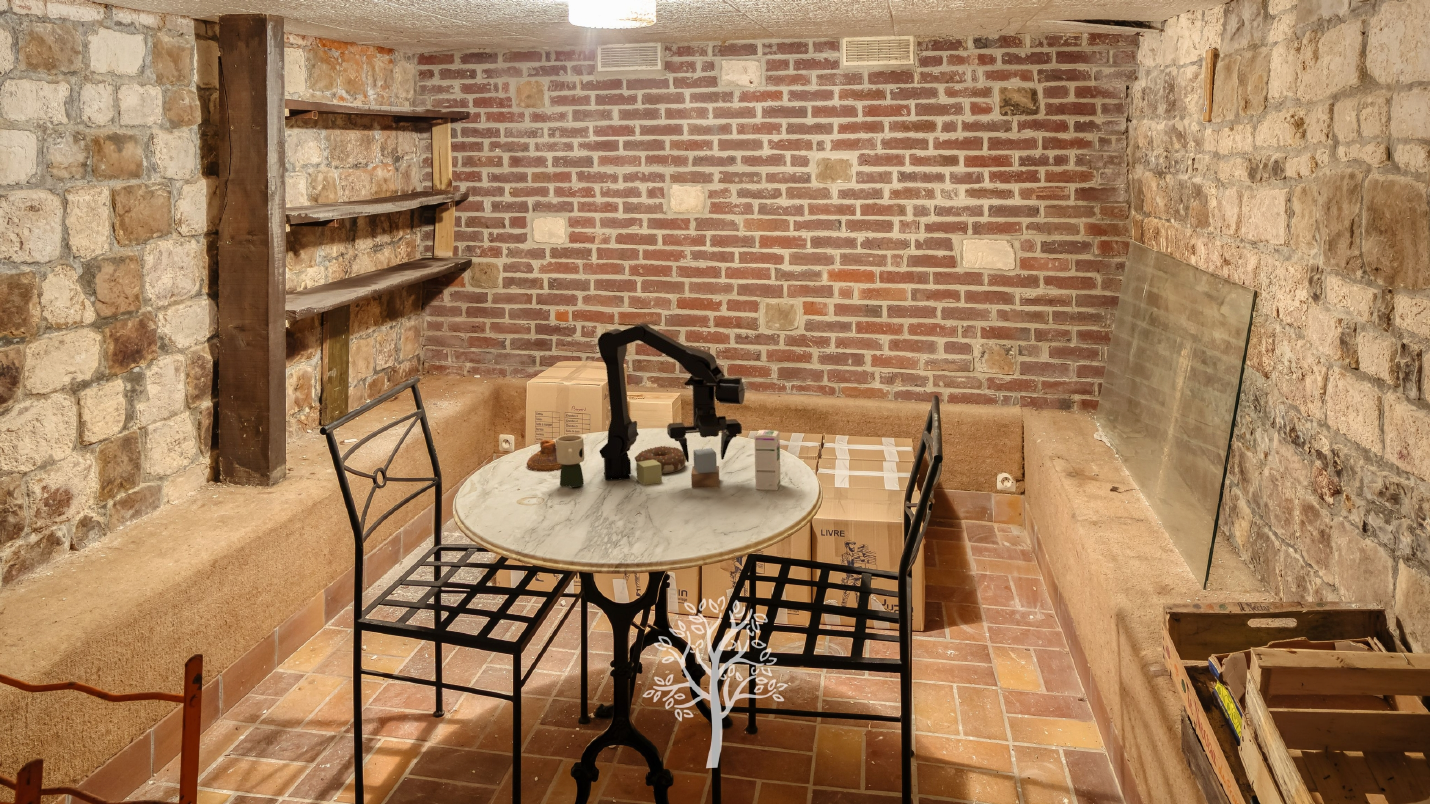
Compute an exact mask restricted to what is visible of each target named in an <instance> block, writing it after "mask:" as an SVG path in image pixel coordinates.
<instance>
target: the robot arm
mask: <svg viewBox="0 0 1430 804" xmlns="http://www.w3.org/2000/svg"><path fill="white" fill-rule="evenodd" d="M637 341H639V342H641V343H643V344H645V345H647V346H649V347H650V348H652V349H654V350H655V351H658V352H659V353H661V354H664V355H665V356H667V357H669V358H670V359H672V360H674V361H676V362H678V363H679V364H680V365H681V366H682V369H684V370H685V371H687V373H688V374H690V376H689V378H688V379H687V381H685V382H684V384H683V385H684V386H691V387H692V425H684V423H683V422H672V423H670V422H669V423H668V425H667V429H666V432H667V435H668V436H669V439H672V440H674V441H675V442H678V443H679V445H680V447H681V450H682V451H683V453H684V455H685V458H686V463H689V462H690V458H689V457H690V455H689V450H688V438H687V437H686V435H687V434H694V433H695V434H696V433H697V434H698V433H699V435H700V437H701V438H703V439H704V438H707V437H714V438H717V437H719V436H720V434H721V436H720V437H721V438H720V459H721V460H723V461H724V459H725V455H726V453H727V450H728V447H729V445H730V443H731V441H732V440H733V438H736V437H737V436H738V435H741V434H743V433H742V432H743V427H742V423H740V422H739V421H738V420H737V419H736V418H730V419H729V418H728V419H727V417H726V416H725V415H721V416H718V415H717V413H716V402H718V403H719V404H727V405H729V404H730V405H742V404H744V402H745V396H746V395H745V394H746V389H745V387H744V383H743V378H742V377H739V376H737V377H726V375H725V374H724V372H723V371H722V370H721V368H720V367H719V365H718V364H717V359H716V357H715V355H713V353H710V352H707V351H704V350H703V349H702V350H701V349H698V348H692V347H689V346H687V345H684V344H682V343H681V342H679V341H677V340H675V339H673V338H671V337H670V336H667V335H666V334H664V333H662V332H661V331H658V330H657V329H654V328H653V327H651V326H650V325H648V323H644V322H643V323H642V322H641V323H639V324H635V325H634V326H631V327H628V328H625V329H623V330H621V329H619V328H613V329H610V330H608V331H605V332H603V333H601V334H600V336H599V337H598V339H597V347H598V350H599V354H600V355H599V356H600V357H601V360H603V363H604V364H605V367H606V369H605V370H606V377H607V389H608V396H609V408H610V423H609V427H608V430H607V442H606V443H605V444H604V445H603V447H602V448H600V449H599V454H600V456H601V458H602V459H603V466H604V467H603V468H604V469H603V470H604V471H603V476H604V479H605V481H613V480H615V481H616V480H625V479H626V480H627V479H628V480H629V479H631V474H632V469H631V467H632V465H631V463H632V461H631V458H630V457H629V454H628V452H630V450H631V447H632V446H633V445H634V444H635V443H636V442H637V437H638V436H639V432H638V422H637V421H636V420H632V419H631V417H630V414H629V407H628V404H629V403H628V397H627V396H628V394H627V385H626V376H625V374H626V373H625V359H626V356H627V355H626V354H627V351H628V344H632V343H635V342H637ZM720 432H721V433H720Z"/></svg>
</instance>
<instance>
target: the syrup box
mask: <svg viewBox="0 0 1430 804" xmlns="http://www.w3.org/2000/svg"><path fill="white" fill-rule="evenodd" d="M780 435H781V434H780V430H774V429H773V430H772V429H763V430H762V429H760V430H758V431H757V432H756V433H755V435H754V465H755V466H754V467H755V470H754V472H755V473H754V474H755V475H754V476H755V477H754V478H755V490H758V491H759V490H761V491H778V489H779V487H780V485H781V448H780V447H781V446H780V445H781V443H780V442H781V441H780V439H781V437H780Z"/></svg>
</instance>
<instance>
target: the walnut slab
mask: <svg viewBox="0 0 1430 804" xmlns="http://www.w3.org/2000/svg"><path fill="white" fill-rule="evenodd" d="M690 478H691V479H690V480H691V488H692V489H693V488H695V489H696V488H697V489H699V488H701V489H703V488H705V489H706V488H711V489H712V488H716V489H717V488H720V487H719V486H720V465H717V472H710V473H697V472H696V470H695V469H694V465H693V466H692V468H691V477H690Z"/></svg>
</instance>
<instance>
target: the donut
mask: <svg viewBox="0 0 1430 804" xmlns="http://www.w3.org/2000/svg"><path fill="white" fill-rule="evenodd" d="M634 460H635V462H641V461H647V460H655V461H657V462H659V463H660V464H661V472H662V474H668V473H669V474H670V473H674V472H677V471H680V470H681V469H682V468H684V467H685V465H686V463H687V461H686V458H685V455H684V453H683V450H682V449H681V448H678V447H676V446H674V447H672V446H665V445H664V446H663V445H660V446H655V447H652V448H651V447H650V448H647V449H644V450H641V451H640V452H638V453H637V455H636V456H635V457H634Z"/></svg>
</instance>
